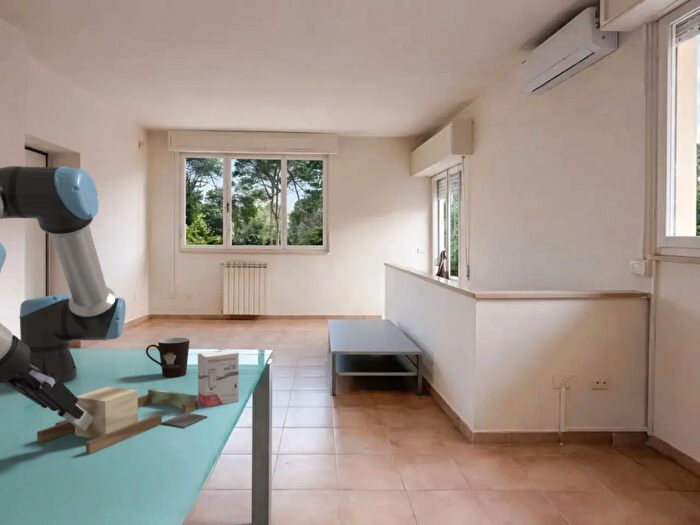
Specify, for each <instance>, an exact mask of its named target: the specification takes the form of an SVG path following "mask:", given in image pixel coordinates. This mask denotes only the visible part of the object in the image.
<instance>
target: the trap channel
mask: <svg viewBox="0 0 700 525" xmlns="http://www.w3.org/2000/svg"><path fill="white" fill-rule="evenodd" d="M150 404H155V405H161V406H167V407H175V408H179V407H180V409H181V413H182V414H179V415H176V416H174V417H172V418H170V419H167V420H165V421H163V420H162V419H163V418H162V413H157V414H156V413H155V414H154V415H152V416H148V417H147V418H144V419H141V420H138V422H136V423H133V424H131V425H128V426H126V427H123V428H121V429H118V430H115V431H113V432H110V433H108V434H105V435H103V436H100V437H98V438H95V439H94V438H92V439H90V440H88V441H85V454H86V455H92V454H95V453H96V452H98V451H101V450H103V449H105V448H108V447H111V446H113V445H115V444H118V443H119V442H122V441H125V440H127V439H129V438H132V437H134V436H137V435H139V434H141V433H144V432H146V431H149V430H151V429H154V428H156V427H158V426H160V425H165V426H172V427H177V428H181V427H183V429H186V428H188V427H190V426H192V425H194V424H197V423H199V422H200V420H201V421H203V420H205V419H207V418H208V416H207V415H202V414H197V413H191V412H193V410H194V411H196V410H198V409H199V403H198V394H197V395H196V394H190V393H183V392H182V393H181V392H176V391H175V392H174V391H169V390H163V389H162V390H161V389H156V388H149V389H147V394H144V395H141V396H138V409H139V408H142V407H144V406H147V405H150ZM195 409H196V410H195ZM188 412H189V413H188ZM204 418H205V419H204ZM202 419H203V420H202ZM198 421H199V422H198ZM196 422H197V423H196ZM187 426H188V427H187ZM185 427H186V428H185ZM72 432H75V426H74V425H73V424H72V423H70V422H69V421H68V420H66V419H64V420H61V421H58V422H55V425H53V426H50V427H47V428H45V429H41V430H39V431H36V436H37V438H36V440H37V441H36V442H37V443H39V444H42V443H45V442H47V441H51V440H53V439H56V438H59V437H62V436H64V435H67V434H70V433H72Z"/></svg>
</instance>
